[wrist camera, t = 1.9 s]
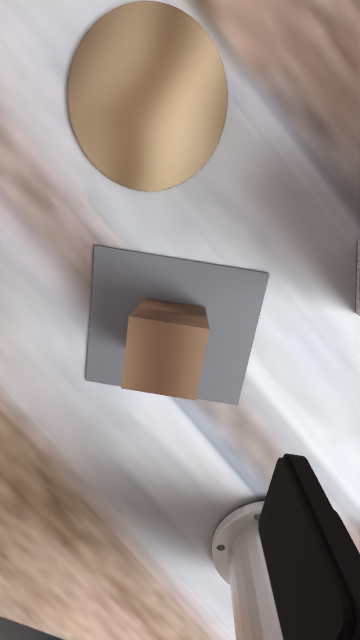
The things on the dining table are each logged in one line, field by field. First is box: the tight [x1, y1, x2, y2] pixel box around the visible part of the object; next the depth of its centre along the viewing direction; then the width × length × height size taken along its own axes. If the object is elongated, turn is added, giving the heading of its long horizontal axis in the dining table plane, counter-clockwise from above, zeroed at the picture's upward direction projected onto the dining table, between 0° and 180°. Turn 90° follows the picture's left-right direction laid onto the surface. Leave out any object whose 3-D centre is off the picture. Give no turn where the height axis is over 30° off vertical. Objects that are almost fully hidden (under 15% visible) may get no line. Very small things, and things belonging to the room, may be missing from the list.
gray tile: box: [86, 245, 269, 405], centre depth 23 cm, size 14×12×1 cm
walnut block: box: [121, 298, 209, 400], centre depth 20 cm, size 5×5×6 cm
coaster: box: [68, 1, 228, 191], centre depth 19 cm, size 11×11×1 cm
